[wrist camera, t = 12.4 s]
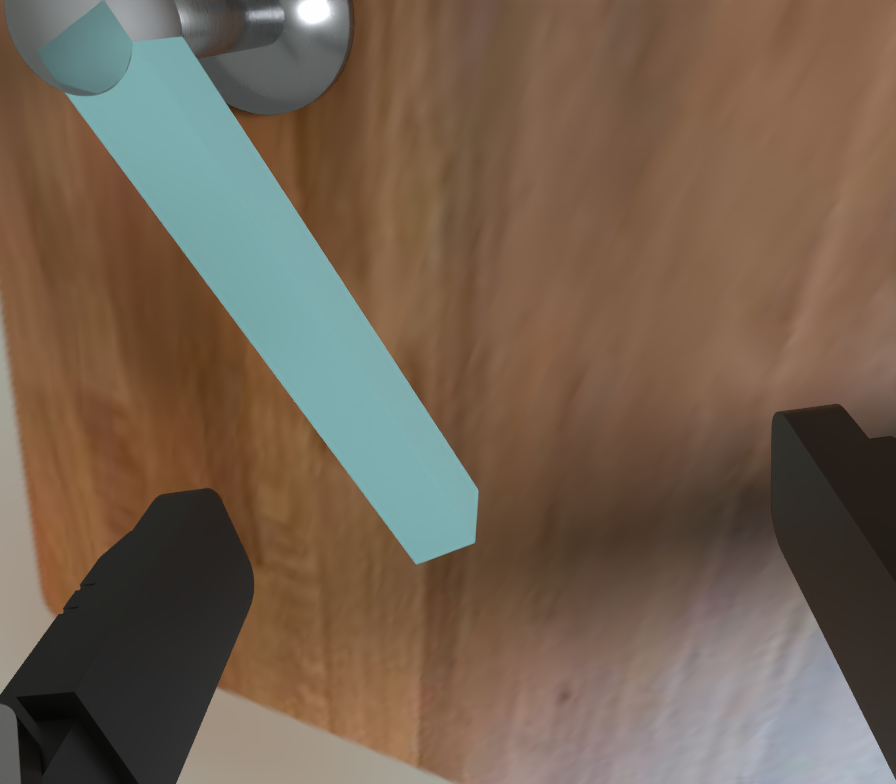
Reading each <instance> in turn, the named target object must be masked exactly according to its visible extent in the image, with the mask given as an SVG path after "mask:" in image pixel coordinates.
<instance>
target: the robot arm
mask: <svg viewBox="0 0 896 784" xmlns="http://www.w3.org/2000/svg"><path fill="white" fill-rule="evenodd" d="M771 512H772V519H773V525H774V529H775V533H776V537H777V540H778V543H779V546H780V548H781V551H782V553H783V555H784V557H785V559H786V561H787V563H788V565H789V567H790V569H791V571H792V573H793V575H794V577H795V579H796V581H797V583H798V585H799V587H800V589H801V591H802V593H803V595H804V597H805V599H806V601H807V603H808V605H809V607H810V609H811V611H812V613H813V615H814V617H815V619H816V621H817V623H818V625H819V627H820V629H821V631H822V633H823V635H824V637H825V639H826V641H827V643H828V645H829V647H830V649H831V651H832V653H833V655H834V657H835V659H836V661H837V663H838V665H839V667H840V669H841V671H842V673H843V675H844V677H845V679H846V681H847V683H848V685H849V687H850V689H851V691H852V693H853V695H854V697H855V699H856V701H857V703H858V705H859V707H860V709H861V711H862V713H863V715H864V717H865V719H866V721H867V723H868V725H869V727H870V729H871V731H872V733H873V735H874V737H875V739H876V741H877V743H878V745H879V747H880V749H881V751H882V753H883V755H884V757H885V759H886V761H887V763H888V765H889V767H890V769H891V771H892V773H893V775H894V777H895V779H896V438H894V437H892V436H887V437H880V438H872V439H869V438H868V437H867V436H866V434H865V433H864V432H863V431H862V429H861V428H860V427H859V426H858V425H857V423H856V422H855V421H854V420H853V419H852V417H851V416H850V415H849V414H848V413H847V411H846V410H845V409H844V408H843V407H842V406H840V405H839V404H832V405H824V406H817V407H810V408H802V409H795V410H788V411H780V412H776V413H775V414H774V416H773V420H772V437H771ZM80 587H81V588H80V590H77V591H75V593H74V594H73V595H72V597H71V598H70V599H69V601H68V602H67V604H66V605H65V606H64V608H63V609H64V612H63V614H59V615H58V616H57V617H56V619H55V620H54V621H53V623H52V624H51V626H50V627H49V628H48V630H47V631H46V633H45V634H44V635H43V637H42V638H41V639H40V641H39V642H38V644H37V645H36V646H35V648H34V649H33V650H32V652H31V653H30V654H29V656H28V657H27V659H26V660H25V661H24V663H23V664H22V666H21V667H20V668H19V670H18V671H17V672H16V674H15V675H14V677H13V678H12V679H11V681H10V682H9V684H8V685H7V686H6V688H5V689H4V690H3V692H2V693H1V694H0V784H176V782H177V780H178V777H179V775H180V773H181V770H182V768H183V766H184V763H185V761H186V758H187V756H188V754H189V751H190V749H191V747H192V744H193V742H194V739H195V737H196V735H197V732H198V730H199V728H200V725H201V723H202V721H203V718H204V716H205V713H206V711H207V708H208V706H209V704H210V701H211V699H212V697H213V694H214V692H215V690H216V687H217V685H218V682H219V680H220V678H221V675H222V673H223V671H224V668H225V666H226V663H227V661H228V659H229V656H230V654H231V651H232V649H233V647H234V644H235V642H236V640H237V637H238V635H239V632H240V630H241V628H242V625H243V623H244V621H245V618H246V616H247V613H248V611H249V609H250V606H251V603H252V599H253V594H254V576H253V570H252V567H251V564H250V561H249V559H248V557H247V554H246V552H245V550H244V548H243V546H242V543H241V541H240V539H239V537H238V535H237V533H236V530H235V528H234V526H233V524H232V522H231V520H230V517H229V515H228V513H227V511H226V509H225V506H224V504H223V502H222V500H221V498H220V497H219V495H218V494H217V493H216V492H215V491H214V490H212V489H210V488H205V489H197V490H190V491H183V492H175V493H168V494H162V495H159V496H158V497H157V498H155V500H154V501H153V502H152V504H151V505H150V506H149V508H148V509H147V511H146V512H145V513H144V515H143V516H142V518H141V519H140V521H139V522H138V523H137V525H136V526H135V528H134V529H133V531H131V532H129V533H128V534H127V535H125V536H124V537H123V538H122V539H121V540H120V541H118V542H117V543H116V544H115V545H114V546H113V547H111V548H110V549H109V550H108V551H107V552H106V553H104V554H103V555H102V556H101V557H100V558H99V559H98V561H97V562H96V564H95V565H94V566H93V568H92V569H91V570H90V572H89V573H88V575H87V576H86V577H85V579H84V580H83V581H82V583H81V584H80Z"/></svg>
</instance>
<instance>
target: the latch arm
mask: <svg viewBox="0 0 896 784" xmlns="http://www.w3.org/2000/svg"><path fill="white" fill-rule="evenodd" d="M4 9H5V18H6V22H7V27H8V30H9V33H10V36H11V38H12V41H13V43H14V45H15V47H16V49H17V50H18V52H19V54H20V55H21V57H22V58H23V60H24V61H25V62H26V64H27V65H28V66H29V67H30V69H31V70H32V71H33V72H34V73H35V74H36V75H37V76H39V77H40V78H41V79H42V80H43V81H45V82H46V83H48V84H49V85H51V86H52V87H54V88H56V89H58V90H60V91H62V92H65V93H66V95H67V96H68V97H69V99H70V100H71V101H72V103H73V104H74V105H75V107H76V108H77V109H78V111H79V112H80V113H81V115H82V116H83V118H84V119H85V120H86V122H87V123H88V124H89V126H90V127H91V128H92V130H93V131H94V132H95V134H96V135H97V136H98V138H99V139H100V140H101V142H102V143H103V144H104V146H105V147H106V148H107V150H108V151H109V152H110V154H111V155H112V156H113V158H114V159H115V161H116V162H117V163H118V165H119V166H120V167H121V169H122V170H123V171H124V173H125V174H126V175H127V177H128V178H129V179H130V181H131V182H132V183H133V185H134V186H135V187H136V189H137V190H138V191H139V193H140V194H141V195H142V197H143V198H144V199H145V201H146V202H147V204H148V205H149V206H150V208H151V209H152V210H153V212H154V213H155V214H156V216H157V217H158V218H159V220H160V221H161V222H162V224H163V225H164V226H165V228H166V229H167V230H168V232H169V233H170V234H171V236H172V237H173V238H174V240H175V241H176V242H177V244H178V245H179V247H180V248H181V249H182V251H183V252H184V253H185V255H186V256H187V257H188V259H189V260H190V261H191V263H192V264H193V265H194V267H195V268H196V269H197V271H198V272H199V273H200V275H201V276H202V277H203V279H204V280H205V281H206V283H207V284H208V285H209V287H210V288H211V290H212V291H213V292H214V294H215V295H216V296H217V298H218V299H219V300H220V302H221V303H222V304H223V306H224V307H225V308H226V310H227V311H228V312H229V314H230V315H231V316H232V318H233V319H234V320H235V322H236V323H237V324H238V326H239V327H240V328H241V330H242V331H243V333H244V334H245V335H246V337H247V338H248V339H249V341H250V342H251V343H252V345H253V346H254V347H255V349H256V350H257V351H258V353H259V354H260V355H261V357H262V358H263V359H264V361H265V362H266V363H267V365H268V366H269V367H270V369H271V370H272V371H273V373H274V374H275V376H276V377H277V378H278V380H279V381H280V382H281V384H282V385H283V386H284V388H285V389H286V390H287V392H288V393H289V394H290V396H291V397H292V398H293V400H294V401H295V402H296V404H297V405H298V406H299V408H300V409H301V410H302V412H303V413H304V414H305V416H306V417H307V419H308V420H309V421H310V423H311V424H312V425H313V427H314V428H315V429H316V431H317V432H318V433H319V435H320V436H321V437H322V439H323V440H324V441H325V443H326V444H327V445H328V447H329V448H330V449H331V451H332V452H333V453H334V455H335V456H336V457H337V459H338V460H339V462H340V463H341V464H342V466H343V467H344V468H345V470H346V471H347V472H348V474H349V475H350V476H351V478H352V479H353V480H354V482H355V483H356V484H357V486H358V487H359V488H360V490H361V491H362V492H363V494H364V495H365V496H366V498H367V499H368V500H369V502H370V503H371V505H372V506H373V507H374V509H375V510H376V511H377V513H378V514H379V515H380V517H381V518H382V519H383V521H384V522H385V523H386V525H387V526H388V527H389V529H390V530H391V531H392V533H393V534H394V535H395V537H396V538H397V539H398V541H399V542H400V543H401V545H402V546H403V548H404V549H405V550H406V552H407V553H408V554H409V556H410V557H411V558H412V560H413V561H414V562H415V564H416V565H417V564H420V563H422V562H425V561H428V560H430V559H433V558H436V557H438V556H441V555H444V554H446V553H449V552H452V551H454V550H457V549H460V548H463V547H465V546H468V545H471V544H473V543H475V535H476V521H477V507H478V492H479V490H478V489H477V487H476V486H475V484H474V483H473V481H472V479H471V478H470V476H469V475H468V473H467V472H466V470H465V469H464V467H463V466H462V464H461V463H460V461H459V460H458V458H457V457H456V455H455V453H454V452H453V450H452V449H451V447H450V446H449V444H448V443H447V441H446V440H445V438H444V437H443V435H442V434H441V432H440V430H439V429H438V427H437V426H436V424H435V423H434V421H433V420H432V418H431V417H430V415H429V414H428V412H427V411H426V409H425V407H424V406H423V404H422V403H421V401H420V400H419V398H418V397H417V395H416V394H415V392H414V391H413V389H412V388H411V386H410V385H409V383H408V381H407V380H406V378H405V377H404V375H403V374H402V372H401V371H400V369H399V368H398V366H397V365H396V363H395V362H394V360H393V358H392V357H391V355H390V354H389V352H388V351H387V349H386V348H385V346H384V345H383V343H382V342H381V340H380V339H379V337H378V335H377V334H376V332H375V331H374V329H373V328H372V326H371V325H370V323H369V322H368V320H367V319H366V317H365V316H364V314H363V313H362V311H361V309H360V308H359V306H358V305H357V303H356V302H355V300H354V299H353V297H352V296H351V294H350V293H349V291H348V290H347V288H346V286H345V285H344V283H343V282H342V280H341V279H340V277H339V276H338V274H337V273H336V271H335V270H334V268H333V267H332V265H331V264H330V262H329V260H328V259H327V257H326V256H325V254H324V253H323V251H322V250H321V248H320V247H319V245H318V244H317V242H316V241H315V239H314V237H313V236H312V234H311V233H310V231H309V230H308V228H307V227H306V225H305V224H304V222H303V221H302V219H301V218H300V216H299V214H298V213H297V211H296V210H295V208H294V207H293V205H292V204H291V202H290V201H289V199H288V198H287V196H286V195H285V193H284V192H283V190H282V188H281V187H280V185H279V184H278V182H277V181H276V179H275V178H274V176H273V175H272V173H271V172H270V170H269V169H268V167H267V165H266V164H265V162H264V161H263V159H262V158H261V156H260V155H259V153H258V152H257V150H256V149H255V147H254V146H253V144H252V142H251V141H250V139H249V138H248V136H247V135H246V133H245V132H244V130H243V129H242V127H241V126H240V124H239V123H238V121H237V120H236V118H235V116H234V115H233V113H232V112H231V110H230V109H229V107H228V106H227V104H226V103H225V101H224V100H223V98H222V97H221V95H220V93H219V92H218V90H217V89H216V87H215V86H214V84H213V83H212V81H211V80H210V78H209V77H208V75H207V74H206V72H205V70H204V69H203V67H202V66H201V64H200V63H199V61H198V60H197V58H196V57H195V55H194V54H193V52H192V51H191V49H190V48H189V46H188V44H187V43H186V41H185V40H184V38H183V37H182V24H181V19H180V15H179V12H178V9H177V6H176V4H175V2H174V0H4Z"/></svg>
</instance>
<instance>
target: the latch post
mask: <svg viewBox="0 0 896 784" xmlns="http://www.w3.org/2000/svg"><path fill="white" fill-rule="evenodd" d="M174 2H175V4H176V6H177V9H178V12H179V15H180V19H181V24H182V37H183V38H184V40H185V41H186V43H187V44H188V46H189V48H190V49H191V51H192V52H193V54H194V55H195V57H196V58H197V60H198V61H199V63H200V64H201V66H202V67H203V69H204V70H205V72H206V74H207V75H208V77H209V78H210V80H211V81H212V83H213V84H214V86H215V87H216V89H217V90H218V92H219V93H220V95H221V97H222V98H223V100H224V101H225V102H226V103H227V104H229V105H231V106H233V107H236V108H238V109H240V110H243V111H247V112H250V113H255V114H262V115H276V114H284V113H288V112H291V111H295V110H297V109H299V108H302V107H304V106H306V105H308V104H310V103H312V102H313V101H315V100H317V99H318V98H320V97H321V96H322V95H323V94H324V93H326V92H327V91H328V90H329V89H330V88H331V87H332V85H333V84H334V83H335V82H336V81H337V79H338V78H339V76H340V74H341V73H342V71H343V69H344V67H345V65H346V63H347V60H348V57H349V54H350V51H351V47H352V42H353V36H354V8H353V2H352V0H174Z"/></svg>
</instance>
